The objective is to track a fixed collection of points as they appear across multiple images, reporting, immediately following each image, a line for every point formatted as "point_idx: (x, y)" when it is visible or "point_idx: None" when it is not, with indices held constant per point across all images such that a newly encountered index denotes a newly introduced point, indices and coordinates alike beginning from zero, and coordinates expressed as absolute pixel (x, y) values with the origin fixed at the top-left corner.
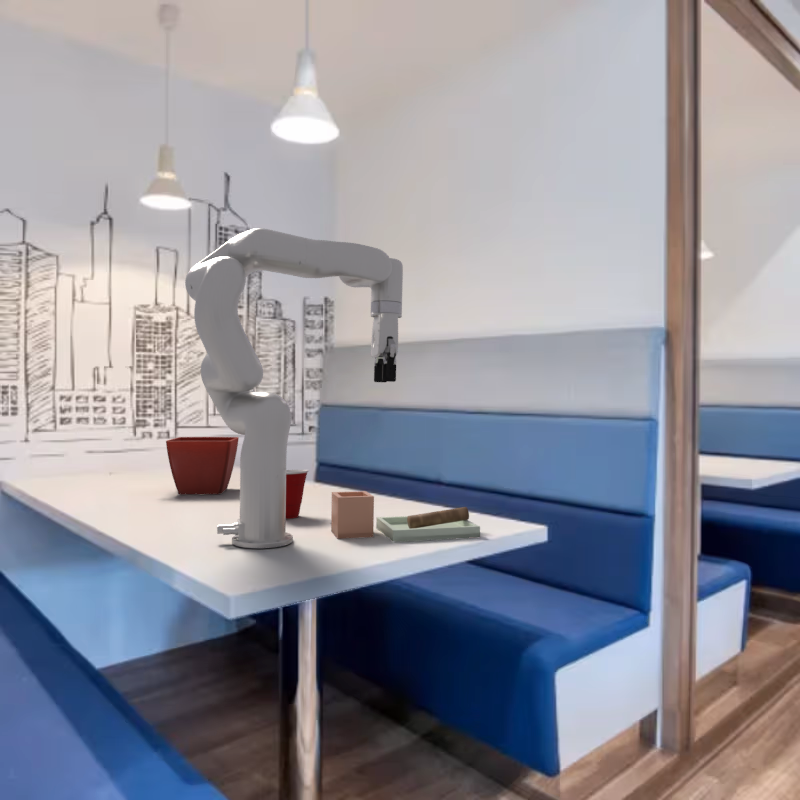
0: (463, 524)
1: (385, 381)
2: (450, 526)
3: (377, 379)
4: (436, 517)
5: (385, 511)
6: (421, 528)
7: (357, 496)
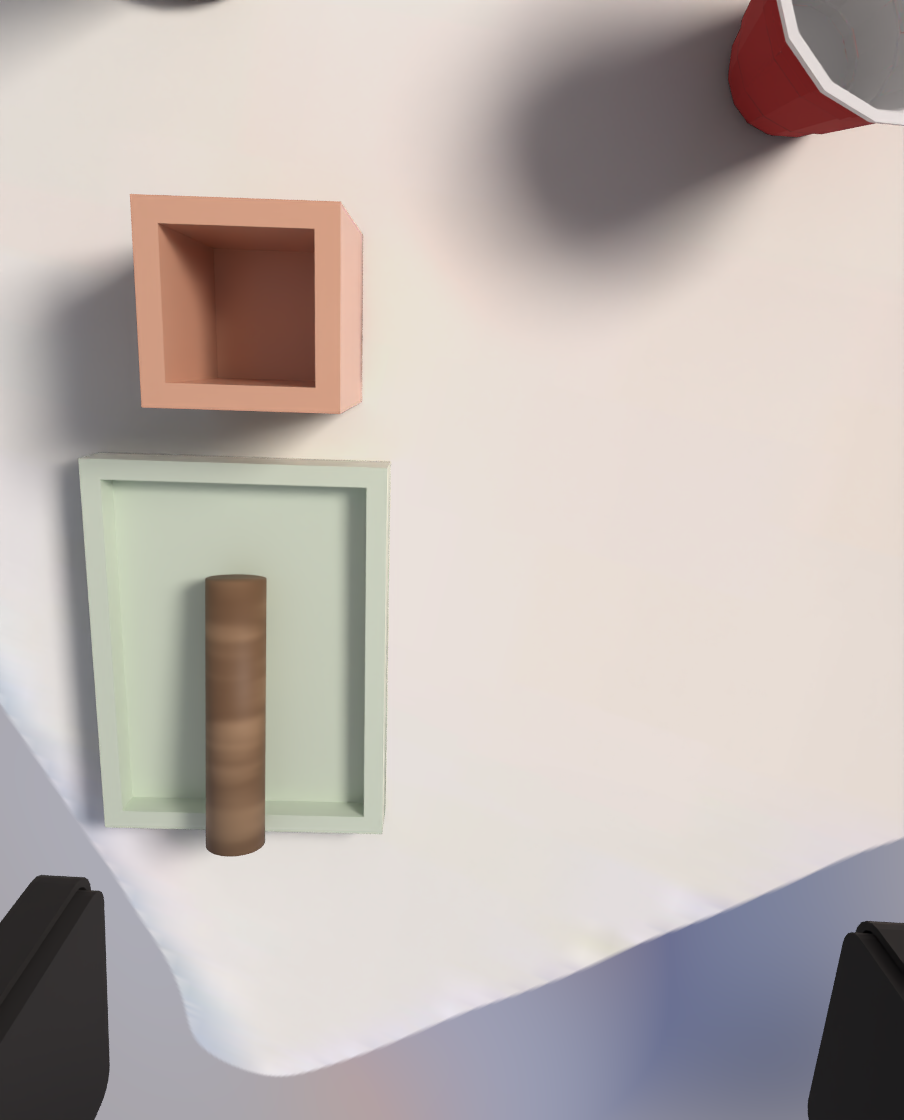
0: None
1: (808, 1105)
2: None
3: (861, 998)
4: (206, 699)
5: (769, 613)
6: (99, 588)
7: (153, 316)
